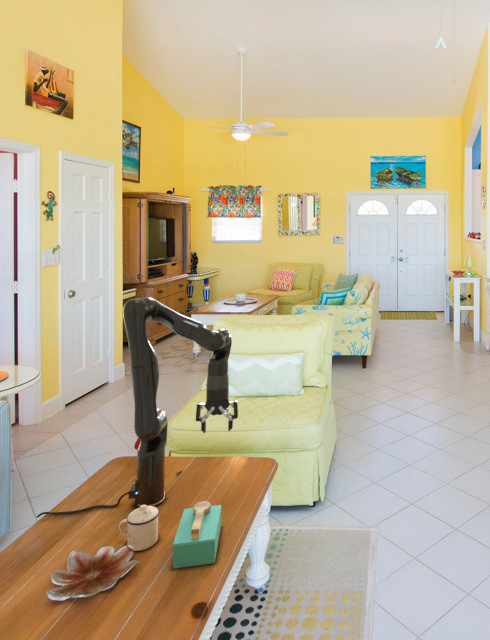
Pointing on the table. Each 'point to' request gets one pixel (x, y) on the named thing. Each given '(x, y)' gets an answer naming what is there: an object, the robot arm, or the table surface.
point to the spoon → (199, 517)
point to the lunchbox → (196, 552)
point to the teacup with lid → (141, 527)
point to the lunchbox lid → (206, 532)
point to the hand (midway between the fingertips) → (217, 431)
